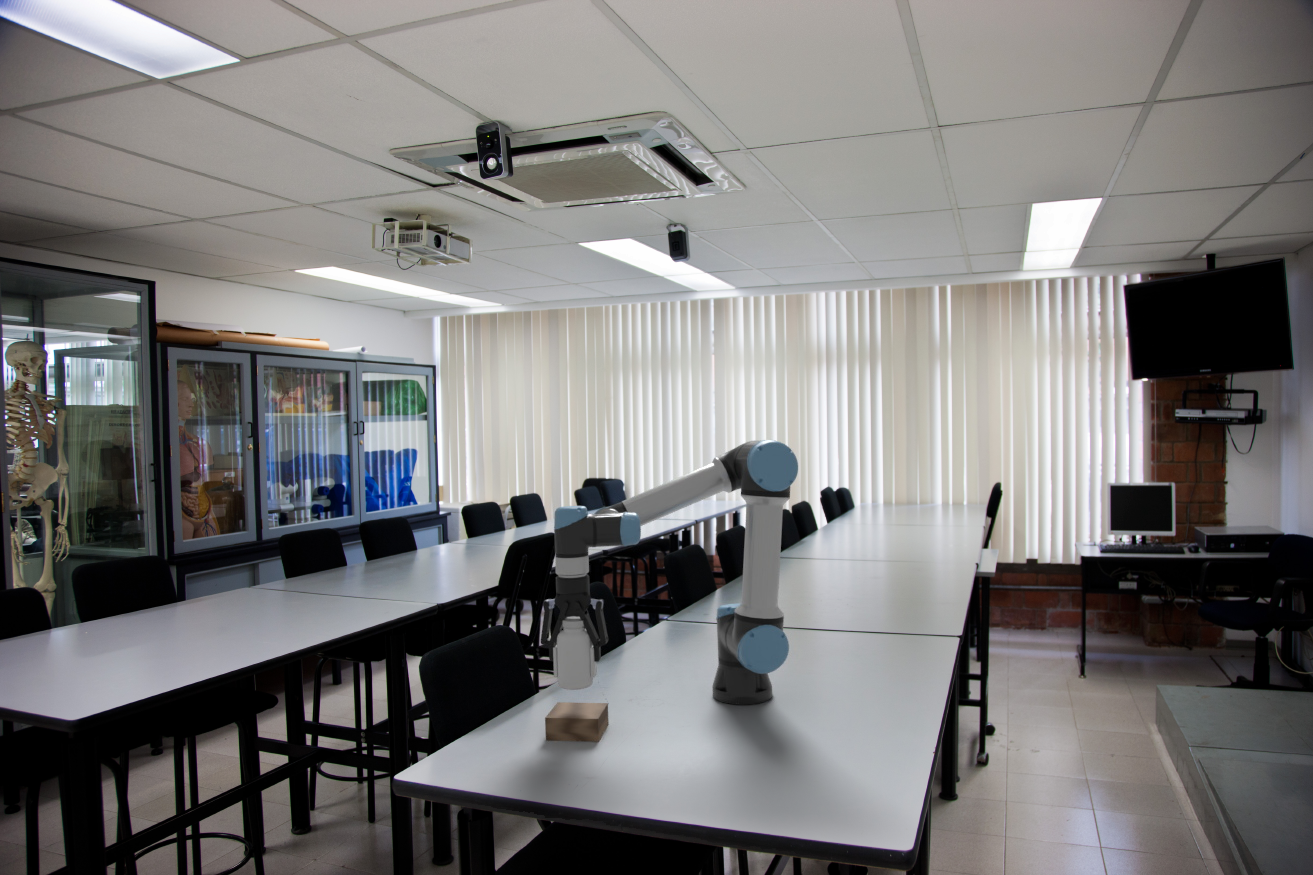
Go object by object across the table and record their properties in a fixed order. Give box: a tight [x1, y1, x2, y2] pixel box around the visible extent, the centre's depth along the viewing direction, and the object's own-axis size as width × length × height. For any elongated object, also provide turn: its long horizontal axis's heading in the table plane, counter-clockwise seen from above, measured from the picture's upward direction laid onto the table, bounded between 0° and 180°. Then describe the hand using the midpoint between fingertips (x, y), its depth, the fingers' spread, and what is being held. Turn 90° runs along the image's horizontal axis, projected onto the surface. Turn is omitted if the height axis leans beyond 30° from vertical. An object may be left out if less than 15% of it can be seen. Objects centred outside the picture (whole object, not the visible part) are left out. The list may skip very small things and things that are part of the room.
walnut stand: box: [544, 701, 609, 743], centre depth 172 cm, size 12×10×5 cm
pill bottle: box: [556, 616, 594, 691], centre depth 172 cm, size 8×8×15 cm
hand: (575, 675), depth 172 cm, fingers closed on pill bottle, 8 cm apart
